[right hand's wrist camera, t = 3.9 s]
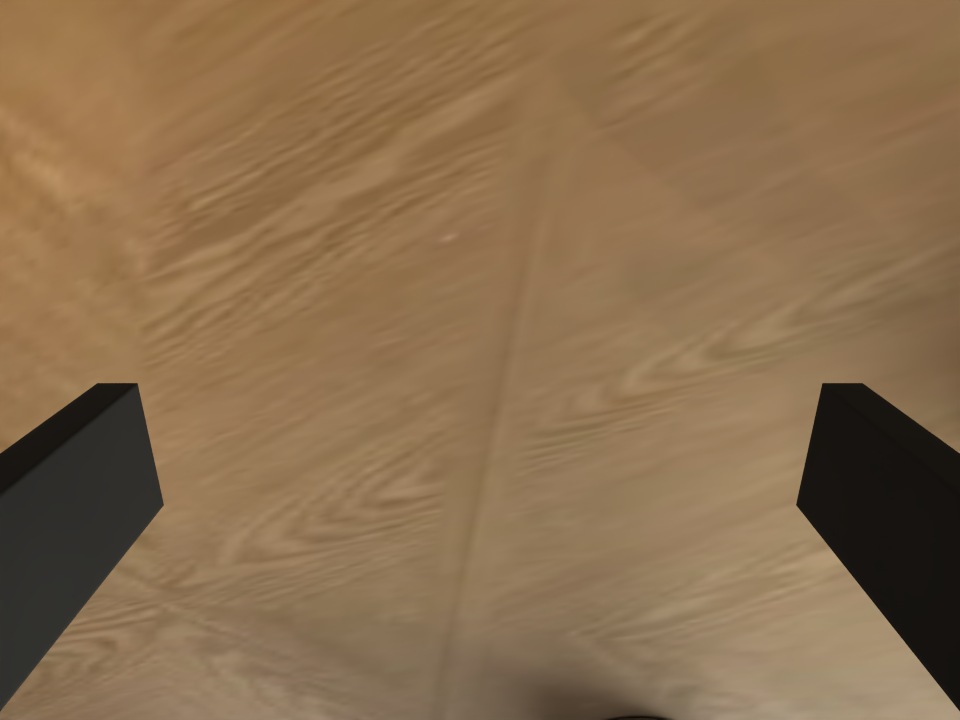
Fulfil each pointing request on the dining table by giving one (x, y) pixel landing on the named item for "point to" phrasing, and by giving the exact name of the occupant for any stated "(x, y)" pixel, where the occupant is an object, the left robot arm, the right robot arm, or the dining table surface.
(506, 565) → the dining table surface
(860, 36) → the dining table surface
